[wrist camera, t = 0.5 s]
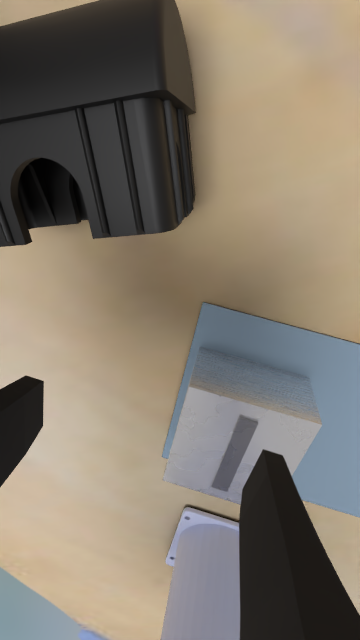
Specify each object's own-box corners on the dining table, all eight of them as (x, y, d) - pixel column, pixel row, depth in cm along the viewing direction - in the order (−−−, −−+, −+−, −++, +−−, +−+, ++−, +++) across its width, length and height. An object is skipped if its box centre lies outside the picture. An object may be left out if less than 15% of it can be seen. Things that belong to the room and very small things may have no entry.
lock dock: (442, 541, 24) (453, 565, 23) (162, 455, 26) (157, 473, 24) (595, 407, 17) (625, 429, 16) (202, 301, 19) (199, 313, 18)
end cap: (191, 29, 13) (147, -69, 8) (205, 205, 17) (182, 234, 11) (-10, 74, 16) (-166, 26, 10) (36, 223, 19) (-61, 255, 13)
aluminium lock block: (266, 460, 24) (269, 516, 20) (175, 433, 24) (161, 482, 20) (309, 377, 20) (322, 427, 16) (199, 346, 20) (188, 388, 17)
